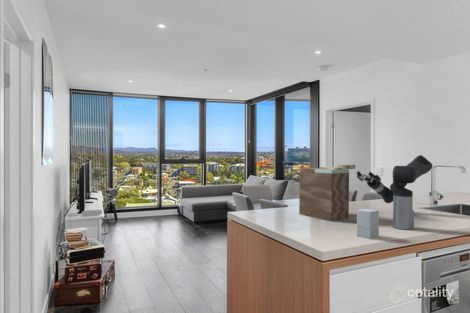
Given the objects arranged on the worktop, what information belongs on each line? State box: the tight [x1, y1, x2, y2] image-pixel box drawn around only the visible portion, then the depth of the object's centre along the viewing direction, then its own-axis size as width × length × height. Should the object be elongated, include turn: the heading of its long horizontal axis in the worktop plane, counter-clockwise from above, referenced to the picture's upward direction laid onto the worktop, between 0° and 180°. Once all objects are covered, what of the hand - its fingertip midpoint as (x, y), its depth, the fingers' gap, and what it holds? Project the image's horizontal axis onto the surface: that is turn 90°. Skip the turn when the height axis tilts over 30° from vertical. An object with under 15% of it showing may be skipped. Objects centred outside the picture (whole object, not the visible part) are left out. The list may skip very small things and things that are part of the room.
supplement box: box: [356, 208, 380, 240], centre depth 154 cm, size 7×7×13 cm
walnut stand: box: [298, 167, 350, 222], centre depth 204 cm, size 16×26×30 cm, turn 33°
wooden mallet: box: [319, 164, 356, 170], centre depth 203 cm, size 25×11×2 cm, turn 123°
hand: (363, 172), depth 207 cm, fingers open, 8 cm apart
